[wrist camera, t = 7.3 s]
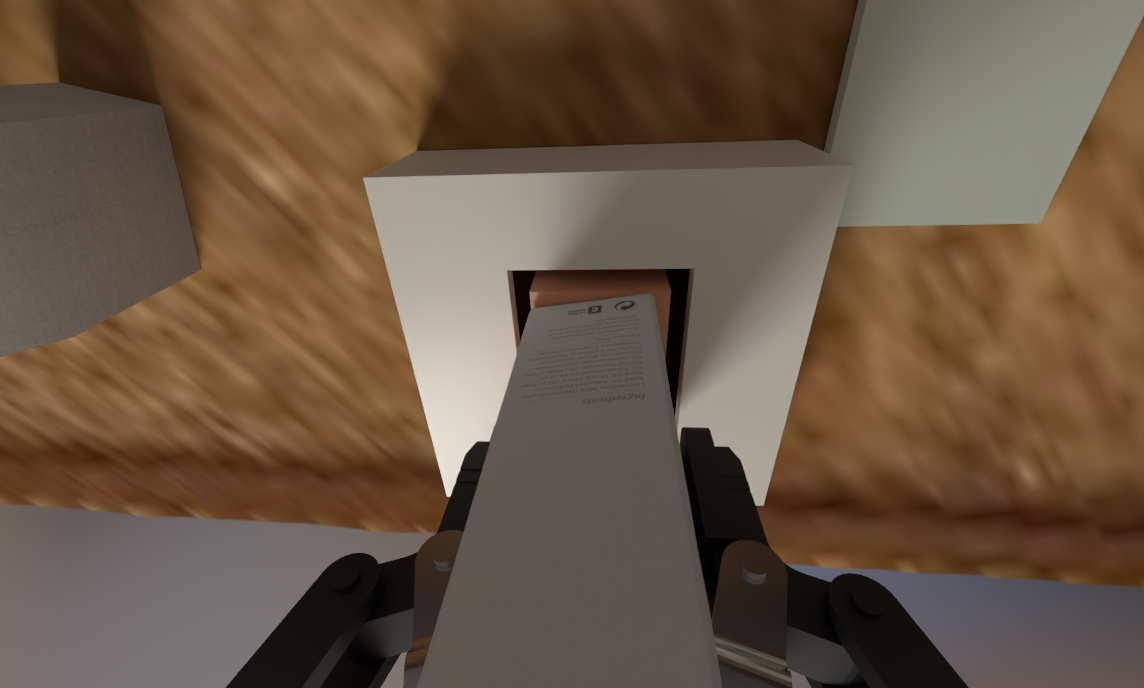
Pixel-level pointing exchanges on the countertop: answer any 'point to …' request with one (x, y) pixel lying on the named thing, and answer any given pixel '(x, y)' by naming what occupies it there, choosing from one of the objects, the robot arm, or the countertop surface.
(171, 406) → the countertop surface
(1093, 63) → the mat
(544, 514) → the skincare box
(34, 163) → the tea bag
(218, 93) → the countertop surface
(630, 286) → the button
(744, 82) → the countertop surface
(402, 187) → the frame
